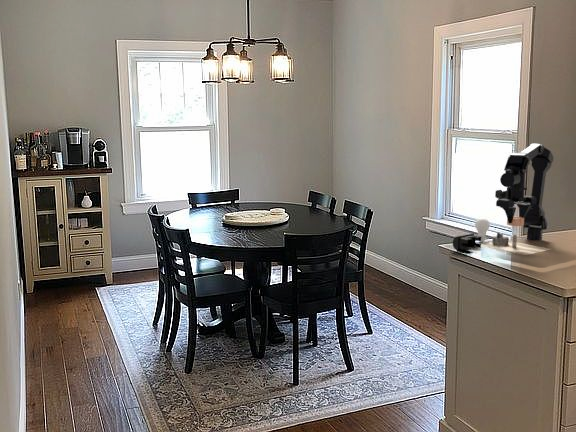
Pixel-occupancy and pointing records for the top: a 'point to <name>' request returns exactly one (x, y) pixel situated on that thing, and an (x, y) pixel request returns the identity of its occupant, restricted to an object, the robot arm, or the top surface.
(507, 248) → the gear board
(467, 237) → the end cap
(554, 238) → the top surface
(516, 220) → the loose gear
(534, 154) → the robot arm
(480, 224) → the lightbulb
